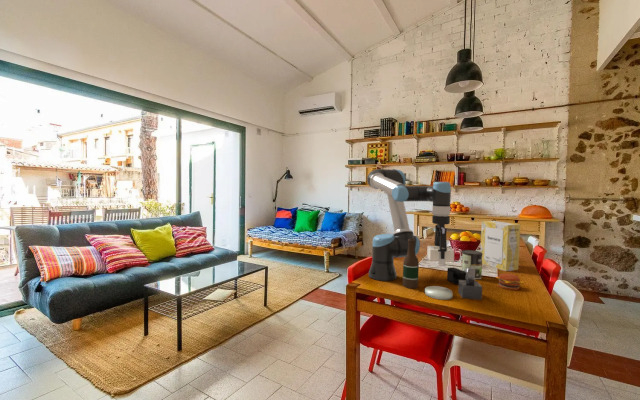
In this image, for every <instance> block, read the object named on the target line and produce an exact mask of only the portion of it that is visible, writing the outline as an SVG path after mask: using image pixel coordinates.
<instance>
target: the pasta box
mask: <svg viewBox="0 0 640 400" xmlns="http://www.w3.org/2000/svg"><path fill="white" fill-rule="evenodd" d="M480 231H481V232H480V233H481V234H480V235H481V236H480V252H482V253H483V254H482V265H483V264H484V266H487V267H490V266H491V267H490V268H493V267H494V268H493V269H498V270H500V271H504V272H511V271H512V272H513V271H518V270H519V259H520V241H521V240H520V239H521V224H520V223H512V222H506V221H505V222H504V221H497V220H486V221H485V220H482V221H481V230H480Z"/></svg>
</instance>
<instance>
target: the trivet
mask: <svg viewBox="0 0 640 400" xmlns="http://www.w3.org/2000/svg"><path fill="white" fill-rule="evenodd" d="M424 294H425V295H426V296H427V297H428V298H431V299H434V300H441V301H442V300H445V301H446V300H451V299H453V297H454V296H453V295H454V294H453V291H452V290H451V289H449V288H447V287H443V286H439V285H430V286H426V287H425V288H424Z"/></svg>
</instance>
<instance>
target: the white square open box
mask: <svg viewBox="0 0 640 400" xmlns="http://www.w3.org/2000/svg"><path fill="white" fill-rule="evenodd" d="M426 249H427V250H426V256H427V258H428V260H429V262H439V251H438V250H440V249H439V246H435V245H427V248H426ZM454 262H455V251H454V249H453V248H451V246H447V251H446V257H445V263H454Z"/></svg>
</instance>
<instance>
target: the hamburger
mask: <svg viewBox="0 0 640 400" xmlns="http://www.w3.org/2000/svg"><path fill="white" fill-rule="evenodd" d="M495 278H496V279H498V287H499V288H502V289H505V290H509V291H518V290H520V284H524V281H523V280H521V279H520V277H518V276H517V275H515V274H511V273H501V274H499V275H498V276H497V277H495Z"/></svg>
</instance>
